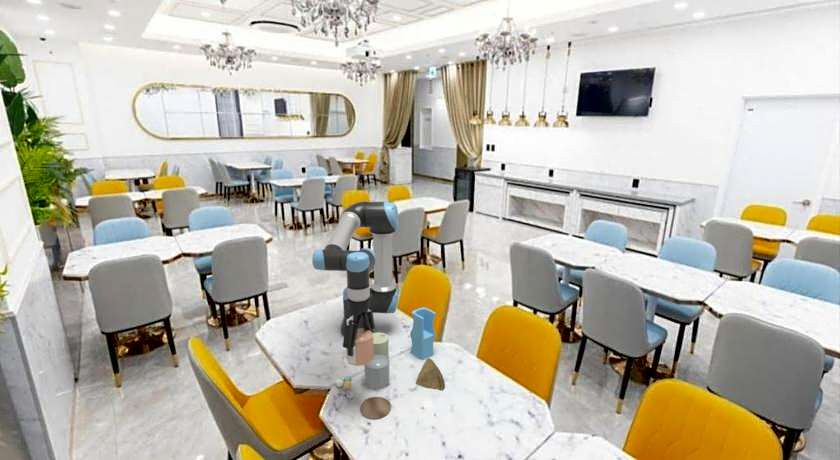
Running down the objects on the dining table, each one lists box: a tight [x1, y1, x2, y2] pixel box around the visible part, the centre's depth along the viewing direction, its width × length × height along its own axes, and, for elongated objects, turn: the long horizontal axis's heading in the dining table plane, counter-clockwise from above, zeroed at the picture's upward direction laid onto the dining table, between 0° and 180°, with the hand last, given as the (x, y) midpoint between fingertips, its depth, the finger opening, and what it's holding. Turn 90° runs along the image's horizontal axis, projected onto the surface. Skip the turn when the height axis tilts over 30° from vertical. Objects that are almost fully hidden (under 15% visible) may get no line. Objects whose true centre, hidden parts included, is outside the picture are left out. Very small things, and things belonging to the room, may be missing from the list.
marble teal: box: [343, 374, 352, 383], centre depth 155 cm, size 3×3×3 cm
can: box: [372, 332, 390, 359], centre depth 168 cm, size 9×9×12 cm
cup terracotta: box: [345, 328, 374, 367], centre depth 140 cm, size 9×9×9 cm
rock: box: [415, 357, 446, 390], centre depth 154 cm, size 11×9×10 cm
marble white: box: [335, 378, 345, 388], centre depth 153 cm, size 3×3×3 cm
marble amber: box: [343, 381, 352, 390], centre depth 152 cm, size 3×3×3 cm
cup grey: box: [364, 355, 390, 391], centre depth 155 cm, size 9×9×9 cm
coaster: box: [359, 396, 392, 420], centre depth 142 cm, size 11×11×1 cm
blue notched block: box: [409, 307, 437, 361], centre depth 174 cm, size 8×8×20 cm
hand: (360, 355), depth 141 cm, fingers closed on cup terracotta, 9 cm apart
